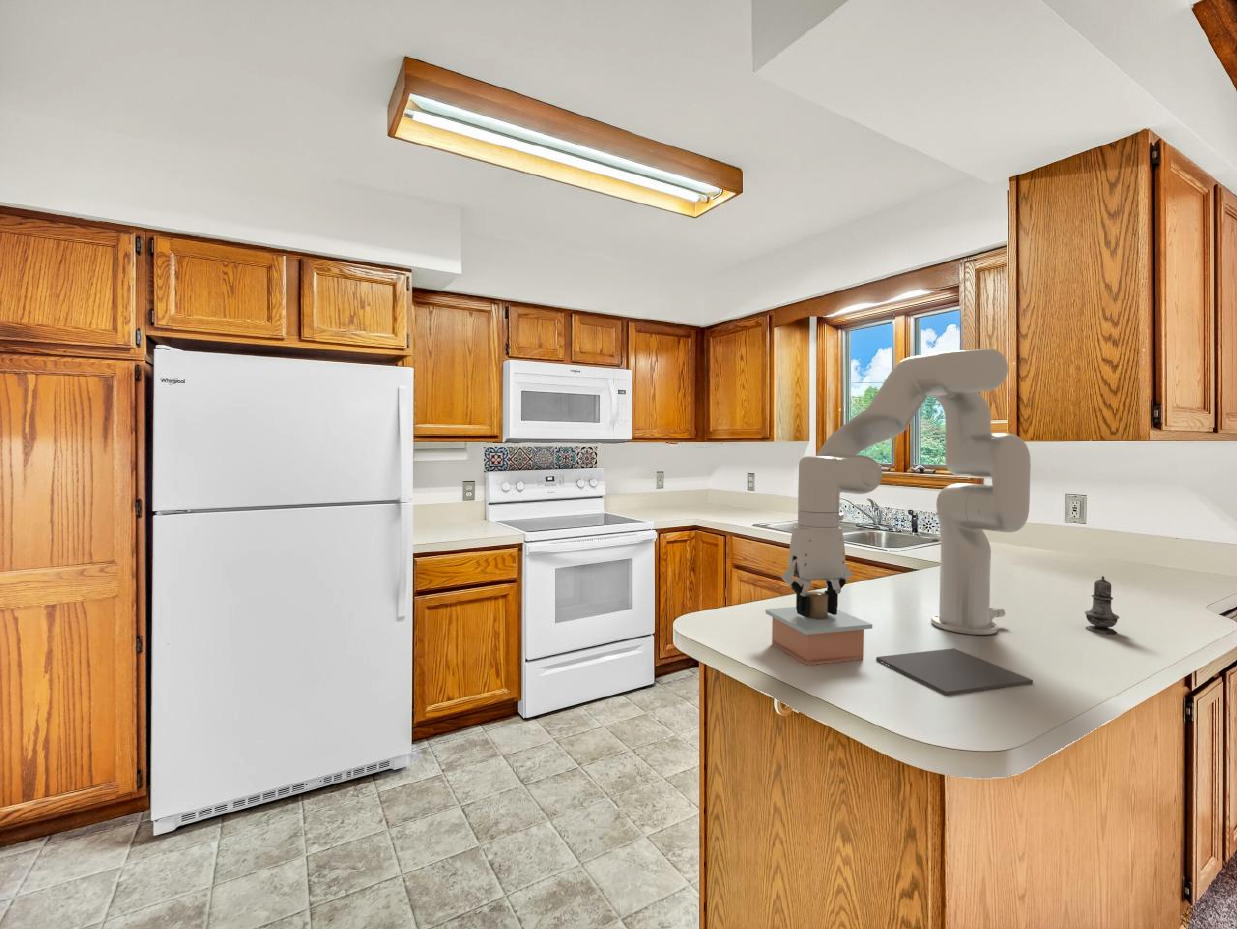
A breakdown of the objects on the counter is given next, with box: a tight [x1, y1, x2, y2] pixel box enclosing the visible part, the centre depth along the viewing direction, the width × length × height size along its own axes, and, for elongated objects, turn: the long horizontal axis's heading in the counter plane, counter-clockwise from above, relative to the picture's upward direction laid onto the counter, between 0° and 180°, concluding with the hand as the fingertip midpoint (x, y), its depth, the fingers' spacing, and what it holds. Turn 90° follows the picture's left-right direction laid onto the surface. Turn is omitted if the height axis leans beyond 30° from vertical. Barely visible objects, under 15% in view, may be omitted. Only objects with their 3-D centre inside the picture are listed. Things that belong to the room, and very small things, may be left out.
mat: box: [875, 647, 1034, 696], centre depth 104 cm, size 18×16×1 cm
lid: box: [765, 590, 873, 635], centre depth 113 cm, size 14×14×6 cm
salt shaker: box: [1084, 575, 1121, 635], centre depth 127 cm, size 6×6×12 cm
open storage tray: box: [771, 617, 865, 667], centre depth 113 cm, size 12×12×6 cm
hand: (816, 613), depth 113 cm, fingers open, 5 cm apart
